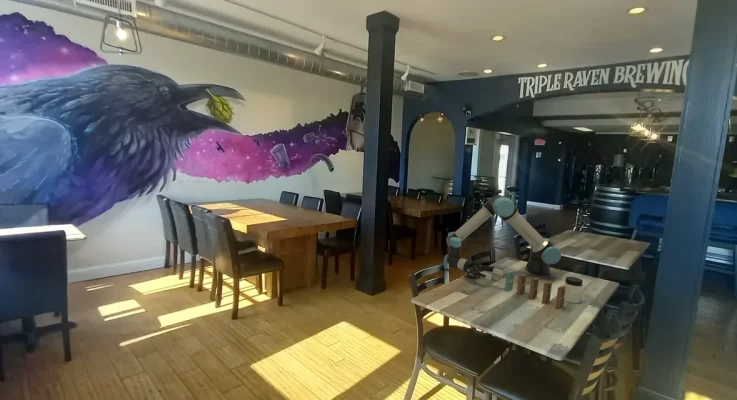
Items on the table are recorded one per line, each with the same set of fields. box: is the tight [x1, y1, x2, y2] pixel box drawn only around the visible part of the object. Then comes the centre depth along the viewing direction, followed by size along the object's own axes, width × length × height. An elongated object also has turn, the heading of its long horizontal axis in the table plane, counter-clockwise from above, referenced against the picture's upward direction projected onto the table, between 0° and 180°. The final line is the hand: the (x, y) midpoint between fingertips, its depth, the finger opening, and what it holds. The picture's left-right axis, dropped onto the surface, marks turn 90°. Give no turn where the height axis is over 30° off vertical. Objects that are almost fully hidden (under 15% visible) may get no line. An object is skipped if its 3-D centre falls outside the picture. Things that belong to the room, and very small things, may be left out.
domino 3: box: [541, 281, 553, 305], centre depth 195 cm, size 6×2×11 cm, turn 131°
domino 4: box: [555, 284, 566, 310], centre depth 190 cm, size 6×2×11 cm, turn 131°
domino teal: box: [504, 269, 515, 292], centre depth 211 cm, size 6×2×11 cm, turn 131°
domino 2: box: [528, 277, 540, 301], centre depth 200 cm, size 6×2×11 cm, turn 131°
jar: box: [563, 276, 583, 304], centre depth 200 cm, size 9×8×12 cm
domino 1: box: [515, 273, 527, 296], centre depth 205 cm, size 6×2×11 cm, turn 131°
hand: (497, 275), depth 216 cm, fingers open, 13 cm apart
